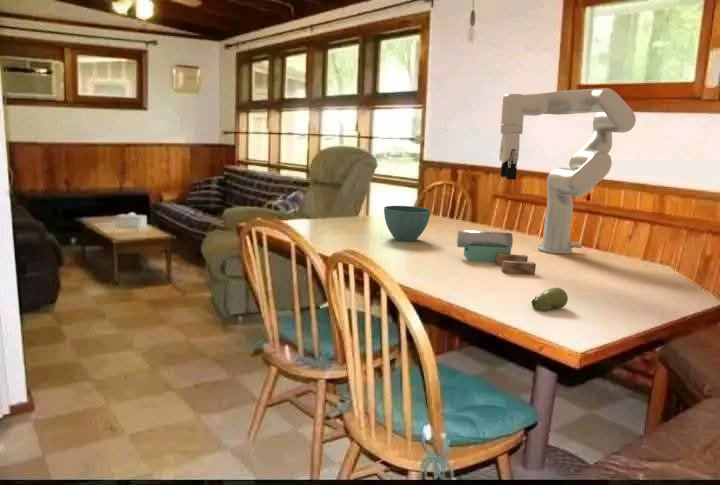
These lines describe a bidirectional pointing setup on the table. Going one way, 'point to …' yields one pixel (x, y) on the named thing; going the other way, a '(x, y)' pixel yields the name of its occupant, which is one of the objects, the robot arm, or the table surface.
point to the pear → (550, 299)
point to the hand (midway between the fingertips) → (508, 178)
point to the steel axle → (484, 239)
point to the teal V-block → (484, 253)
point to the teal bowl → (406, 221)
